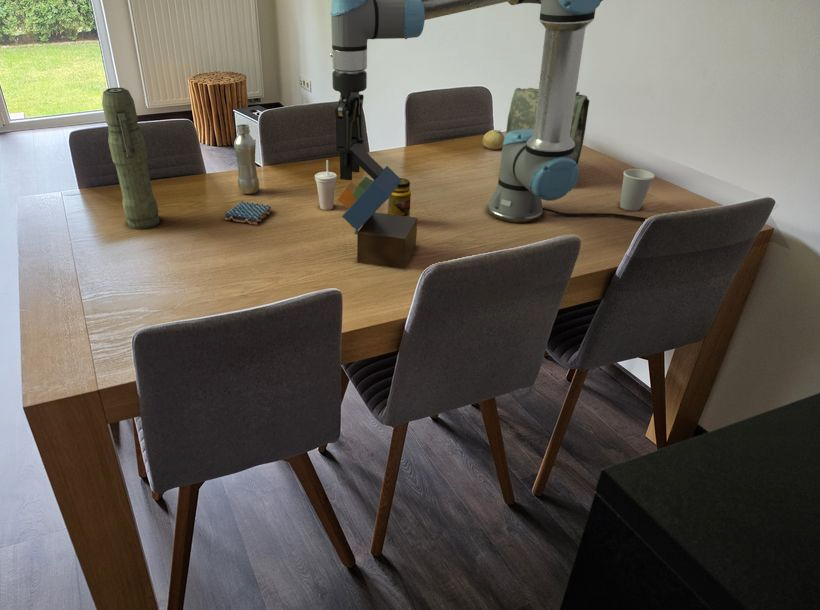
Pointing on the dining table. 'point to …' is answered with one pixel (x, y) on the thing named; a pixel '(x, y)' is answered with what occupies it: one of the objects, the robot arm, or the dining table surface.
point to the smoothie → (326, 188)
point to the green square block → (362, 187)
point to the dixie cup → (635, 188)
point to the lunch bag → (525, 115)
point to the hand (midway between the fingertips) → (349, 175)
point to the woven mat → (248, 213)
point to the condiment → (400, 199)
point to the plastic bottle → (246, 160)
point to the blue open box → (370, 188)
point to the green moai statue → (130, 158)
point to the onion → (493, 139)
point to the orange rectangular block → (348, 196)
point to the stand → (386, 240)
